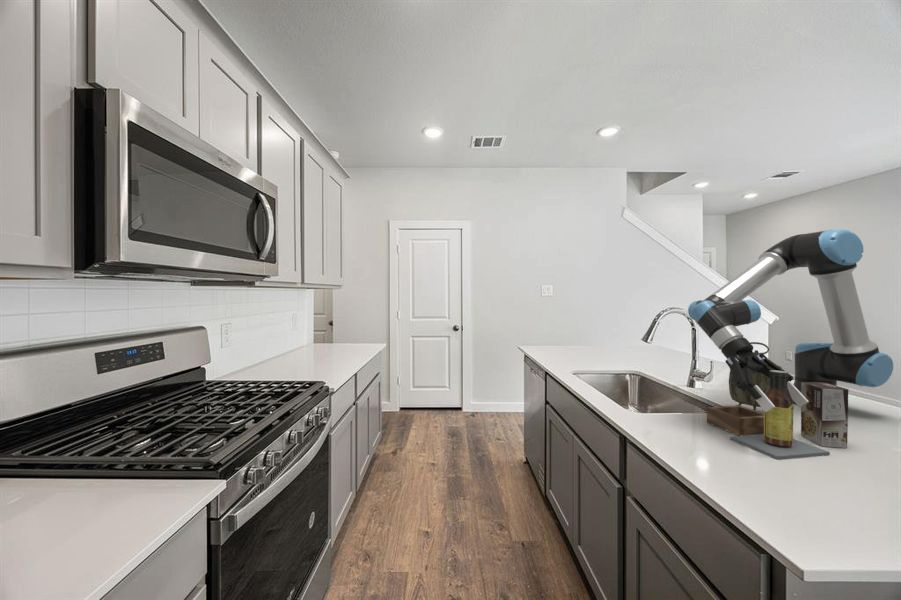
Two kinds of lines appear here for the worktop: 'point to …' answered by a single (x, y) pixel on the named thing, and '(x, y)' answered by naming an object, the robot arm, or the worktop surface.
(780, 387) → the sauce bottle
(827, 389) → the coffee box
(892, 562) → the worktop surface
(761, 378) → the tabletop clock
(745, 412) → the bottle holder
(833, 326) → the robot arm
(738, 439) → the rubber mat
